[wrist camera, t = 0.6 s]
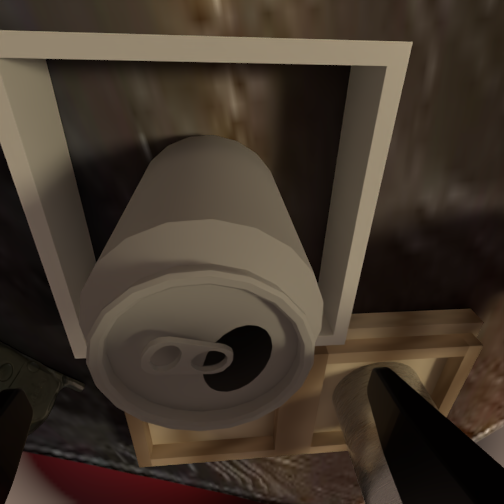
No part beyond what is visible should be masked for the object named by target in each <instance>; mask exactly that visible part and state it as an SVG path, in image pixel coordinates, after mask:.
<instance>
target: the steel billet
mask: <svg viewBox="0 0 504 504" xmlns="http://www.w3.org/2000/svg"><path fill="white" fill-rule="evenodd" d="M376 367H388V368H390V369H392V370H393V371H394V372H395V373H396V374H397V375H398V376H400V377H401V378H402V379H403V380H404V381H405V382H406V383H408V384H409V385H410V386H411V387H412V388H413V389H414V390H416V391H417V392H418V393H419V394H420V395H421V396H422V397H423V398H425V399H426V400H427V401H428V402H429V403H430V404H431V405H433V406H434V407H435V408H436V409H437V410H438V408H437V406H436V405H435V403H434V401H433V400H432V398H431V397H430V395H429V393H428V392H427V390H426V388H425V387H424V385H423V383H422V382H421V380H420V378H419V377H418V375H417V373H416V372H415V371H414V370H413V369H412V368H411V367H410V366H408V365H406V364H403V363H399V362H378V363H373V364H369V365H366V366H363V367H361V368H358V369H356V370H354V371H353V372H351V373H349V374H348V375H347V376H345V377H344V378H343V379H342V380H341V381H340V382H339V383H338V385H337V386H336V388H335V389H334V392H333V395H332V402H333V405H334V409H335V412H336V415H337V418H338V421H339V424H340V427H341V430H342V433H343V436H344V439H345V442H346V446H347V449H348V452H349V455H350V458H351V461H352V464H353V467H354V470H355V473H356V476H357V479H358V483H359V486H360V489H361V492H362V495H363V498H364V501H365V504H402V501H401V499H400V496H399V493H398V491H397V488H396V485H395V483H394V480H393V478H392V475H391V472H390V470H389V467H388V465H387V462H386V459H385V456H384V454H383V450H382V447H381V443H380V440H379V436H378V432H377V429H376V425H375V421H374V418H373V414H372V410H371V407H370V403H369V399H368V396H367V385H368V382H369V378H370V375H371V372H372V369H373V368H376ZM438 411H439V410H438ZM439 412H440V411H439Z"/></svg>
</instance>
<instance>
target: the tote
mask: <svg viewBox="0 0 504 504" xmlns="http://www.w3.org/2000/svg"><path fill="white" fill-rule="evenodd" d="M412 43H413V42H396V41H360V40H325V39H290V38H254V37H219V36H184V35H148V34H113V33H78V32H42V31H7V30H0V143H1V146H2V149H3V152H4V155H5V158H6V161H7V164H8V166H9V169H10V172H11V175H12V178H13V181H14V184H15V187H16V190H17V192H18V195H19V198H20V201H21V204H22V207H23V210H24V213H25V216H26V218H27V221H28V224H29V227H30V230H31V233H32V236H33V239H34V242H35V244H36V247H37V250H38V253H39V256H40V259H41V262H42V265H43V268H44V270H45V273H46V276H47V279H48V282H49V285H50V288H51V291H52V293H53V296H54V299H55V302H56V305H57V308H58V311H59V314H60V317H61V319H62V322H63V325H64V328H65V331H66V334H67V337H68V340H69V343H70V345H71V348H72V351H73V354H74V357H75V359H78V358H86V352H87V343H86V340H85V338H84V335H83V333H82V330H81V328H80V325H79V314H80V293H81V291H82V290H83V288H84V286H85V284H86V282H87V280H88V278H89V276H90V274H91V272H92V270H93V268H94V266H95V264H96V259H95V255H94V251H93V247H92V243H91V239H90V235H89V231H88V227H87V223H86V219H85V215H84V211H83V207H82V203H81V199H80V195H79V191H78V187H77V183H76V179H75V175H74V171H73V167H72V163H71V159H70V155H69V151H68V147H67V143H66V139H65V135H64V131H63V127H62V123H61V119H60V115H59V111H58V107H57V103H56V99H55V95H54V91H53V87H52V83H51V79H50V75H49V71H48V67H47V63H46V59H85V60H131V61H177V62H223V63H269V64H316V65H351V69H350V76H349V82H348V89H347V96H346V102H345V109H344V116H343V122H342V129H341V135H340V142H339V149H338V155H337V162H336V169H335V175H334V182H333V188H332V195H331V202H330V208H329V215H328V222H327V228H326V235H325V241H324V248H323V255H322V261H321V268H320V275H319V281H318V287H319V290H320V293H321V296H322V299H323V302H324V303H323V315H322V327H321V331H320V333H319V335H318V337H317V339H316V341H315V346H327V345H345V341H346V336H347V332H348V327H349V323H350V318H351V314H352V309H353V305H354V301H355V296H356V292H357V287H358V283H359V278H360V274H361V269H362V265H363V261H364V256H365V252H366V247H367V243H368V238H369V234H370V229H371V225H372V221H373V216H374V212H375V207H376V203H377V198H378V194H379V190H380V185H381V181H382V176H383V172H384V167H385V163H386V158H387V154H388V150H389V145H390V141H391V136H392V132H393V127H394V123H395V118H396V114H397V110H398V105H399V101H400V96H401V92H402V87H403V83H404V78H405V74H406V70H407V65H408V61H409V56H410V52H411V47H412Z"/></svg>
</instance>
